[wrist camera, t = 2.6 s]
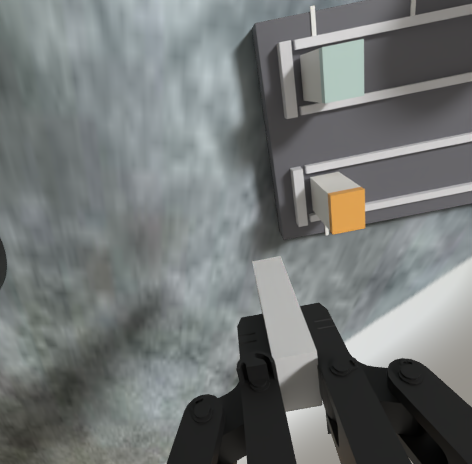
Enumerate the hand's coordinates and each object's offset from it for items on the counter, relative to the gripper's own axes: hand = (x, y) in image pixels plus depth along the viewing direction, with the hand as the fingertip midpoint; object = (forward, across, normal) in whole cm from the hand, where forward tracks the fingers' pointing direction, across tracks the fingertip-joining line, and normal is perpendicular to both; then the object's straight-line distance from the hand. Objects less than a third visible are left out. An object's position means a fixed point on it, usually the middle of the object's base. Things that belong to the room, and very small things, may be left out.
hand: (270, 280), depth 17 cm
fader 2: (+11, +7, 0) cm, 13 cm away
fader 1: (+11, +7, +9) cm, 16 cm away
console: (+14, +14, +5) cm, 20 cm away
